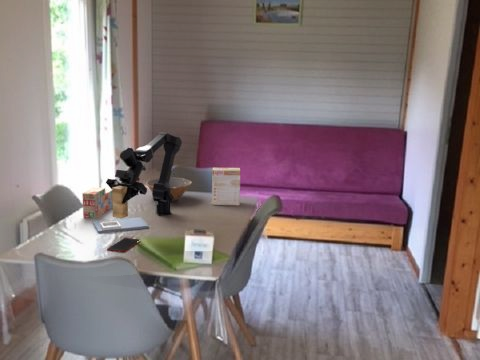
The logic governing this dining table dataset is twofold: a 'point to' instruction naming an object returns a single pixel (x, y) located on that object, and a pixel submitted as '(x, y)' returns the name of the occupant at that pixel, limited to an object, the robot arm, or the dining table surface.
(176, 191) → the bowl
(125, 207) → the pillar block
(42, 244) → the dining table surface
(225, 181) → the coffeecake box
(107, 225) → the board
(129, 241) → the cell phone
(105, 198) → the stack of blocks
